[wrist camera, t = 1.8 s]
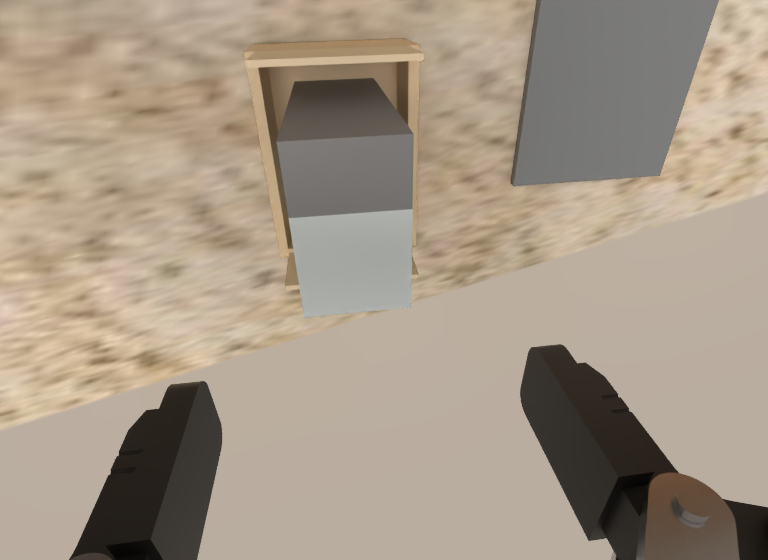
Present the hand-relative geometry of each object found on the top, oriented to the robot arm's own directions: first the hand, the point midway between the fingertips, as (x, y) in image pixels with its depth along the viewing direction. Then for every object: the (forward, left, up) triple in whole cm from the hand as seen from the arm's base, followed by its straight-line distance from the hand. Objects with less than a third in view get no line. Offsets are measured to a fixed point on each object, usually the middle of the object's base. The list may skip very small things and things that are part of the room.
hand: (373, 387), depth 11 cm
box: (0, 0, -22) cm, 22 cm away
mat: (-2, +19, -23) cm, 30 cm away
